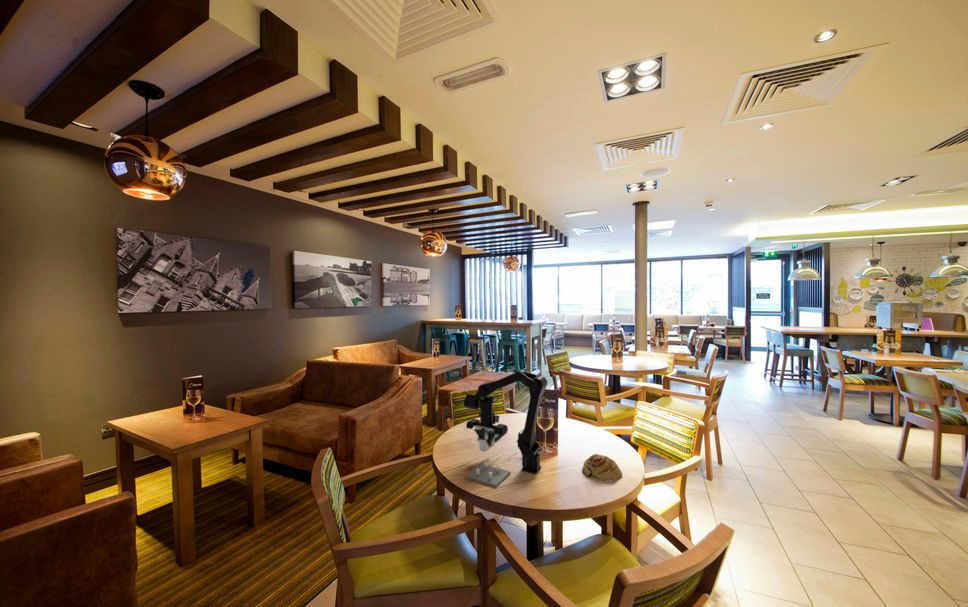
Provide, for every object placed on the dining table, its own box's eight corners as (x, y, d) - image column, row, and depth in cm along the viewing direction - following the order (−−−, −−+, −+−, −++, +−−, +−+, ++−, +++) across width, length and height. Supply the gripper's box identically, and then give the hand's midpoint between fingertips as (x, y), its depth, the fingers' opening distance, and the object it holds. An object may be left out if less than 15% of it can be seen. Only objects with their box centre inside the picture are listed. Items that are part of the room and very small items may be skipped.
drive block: (494, 445, 156) (494, 434, 156) (485, 451, 149) (485, 440, 149) (488, 443, 158) (488, 433, 158) (479, 450, 151) (479, 439, 151)
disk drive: (490, 430, 190) (477, 439, 176) (490, 425, 190) (477, 434, 176) (507, 433, 185) (496, 443, 172) (507, 428, 185) (496, 437, 172)
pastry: (576, 469, 143) (576, 450, 143) (604, 462, 149) (604, 444, 149) (598, 485, 131) (597, 464, 131) (628, 477, 136) (627, 457, 136)
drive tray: (510, 473, 140) (510, 465, 140) (496, 487, 130) (496, 478, 130) (481, 465, 147) (481, 457, 147) (465, 478, 137) (465, 469, 137)
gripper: (512, 409, 156) (513, 443, 156) (478, 403, 165) (478, 435, 165) (501, 416, 146) (502, 452, 146) (465, 409, 156) (465, 443, 156)
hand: (486, 445), depth 154 cm, fingers closed on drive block, 3 cm apart
